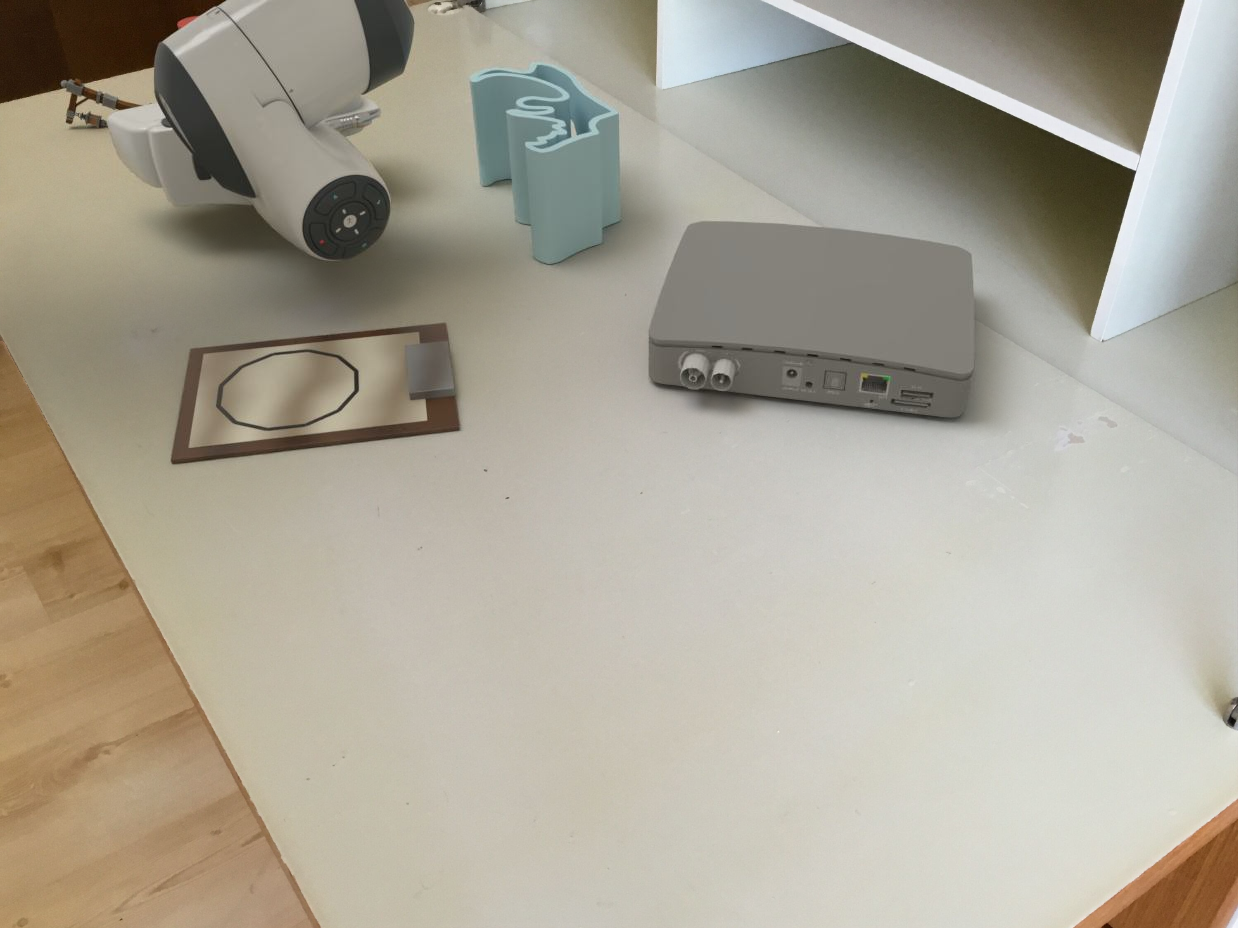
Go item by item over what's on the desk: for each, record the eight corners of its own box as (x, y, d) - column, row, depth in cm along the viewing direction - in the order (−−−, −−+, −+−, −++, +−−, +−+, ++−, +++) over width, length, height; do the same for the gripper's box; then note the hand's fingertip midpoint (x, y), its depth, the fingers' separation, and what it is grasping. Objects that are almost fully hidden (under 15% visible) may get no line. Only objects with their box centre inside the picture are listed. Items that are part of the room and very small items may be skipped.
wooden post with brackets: (58, 114, 111) (64, 71, 108) (147, 143, 114) (154, 101, 111) (53, 122, 109) (59, 78, 107) (143, 150, 112) (151, 108, 110)
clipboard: (171, 463, 72) (167, 452, 72) (191, 352, 82) (187, 340, 81) (459, 429, 75) (458, 418, 75) (446, 325, 85) (444, 314, 84)
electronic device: (963, 439, 75) (977, 376, 72) (640, 400, 78) (640, 338, 75) (961, 292, 89) (973, 234, 86) (688, 264, 92) (690, 206, 89)
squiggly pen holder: (649, 237, 96) (649, 128, 89) (543, 266, 92) (535, 154, 86) (553, 157, 107) (547, 56, 101) (455, 180, 103) (442, 76, 97)
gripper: (383, 79, 94) (318, 31, 103) (129, 134, 85) (80, 77, 94) (394, 152, 99) (330, 100, 107) (153, 213, 89) (104, 151, 98)
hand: (212, 89), depth 100 cm, fingers open, 4 cm apart
